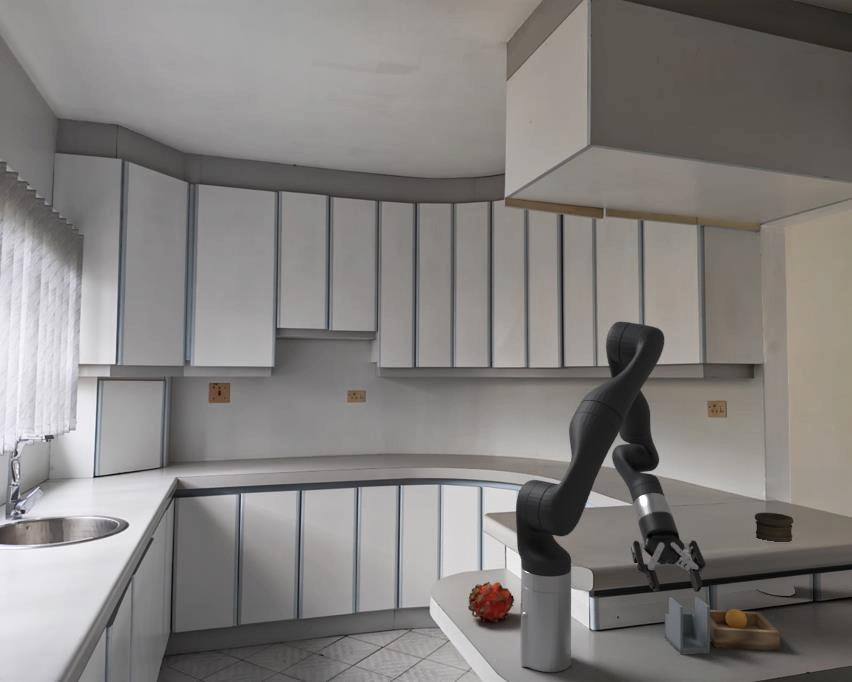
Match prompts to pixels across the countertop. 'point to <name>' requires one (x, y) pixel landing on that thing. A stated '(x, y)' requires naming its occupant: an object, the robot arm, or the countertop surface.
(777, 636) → the tray
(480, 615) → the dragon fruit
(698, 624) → the holder
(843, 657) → the countertop surface
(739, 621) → the ball
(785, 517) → the container
